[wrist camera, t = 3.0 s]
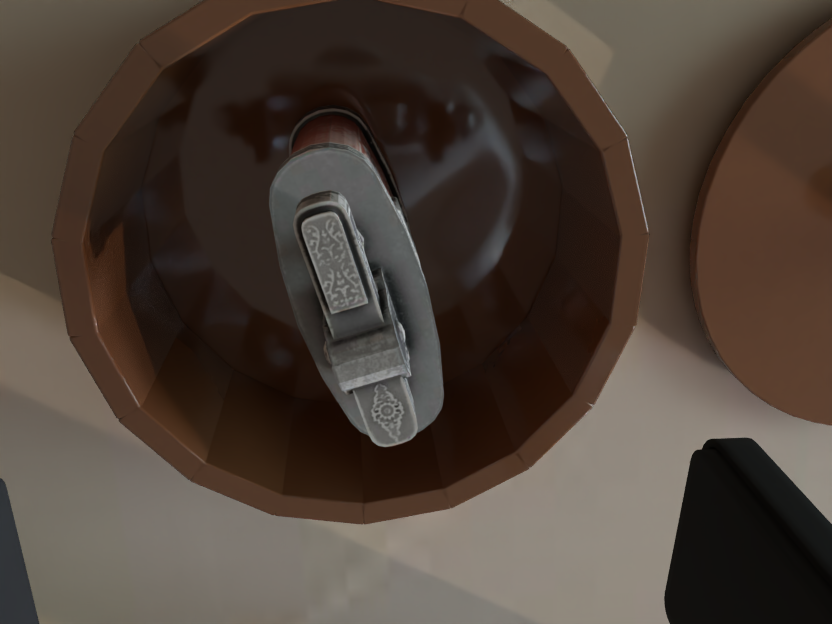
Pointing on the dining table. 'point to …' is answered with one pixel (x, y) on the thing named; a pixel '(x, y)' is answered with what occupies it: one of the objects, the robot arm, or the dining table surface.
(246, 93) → the pot
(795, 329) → the lid
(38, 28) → the dining table surface
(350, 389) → the lighter
